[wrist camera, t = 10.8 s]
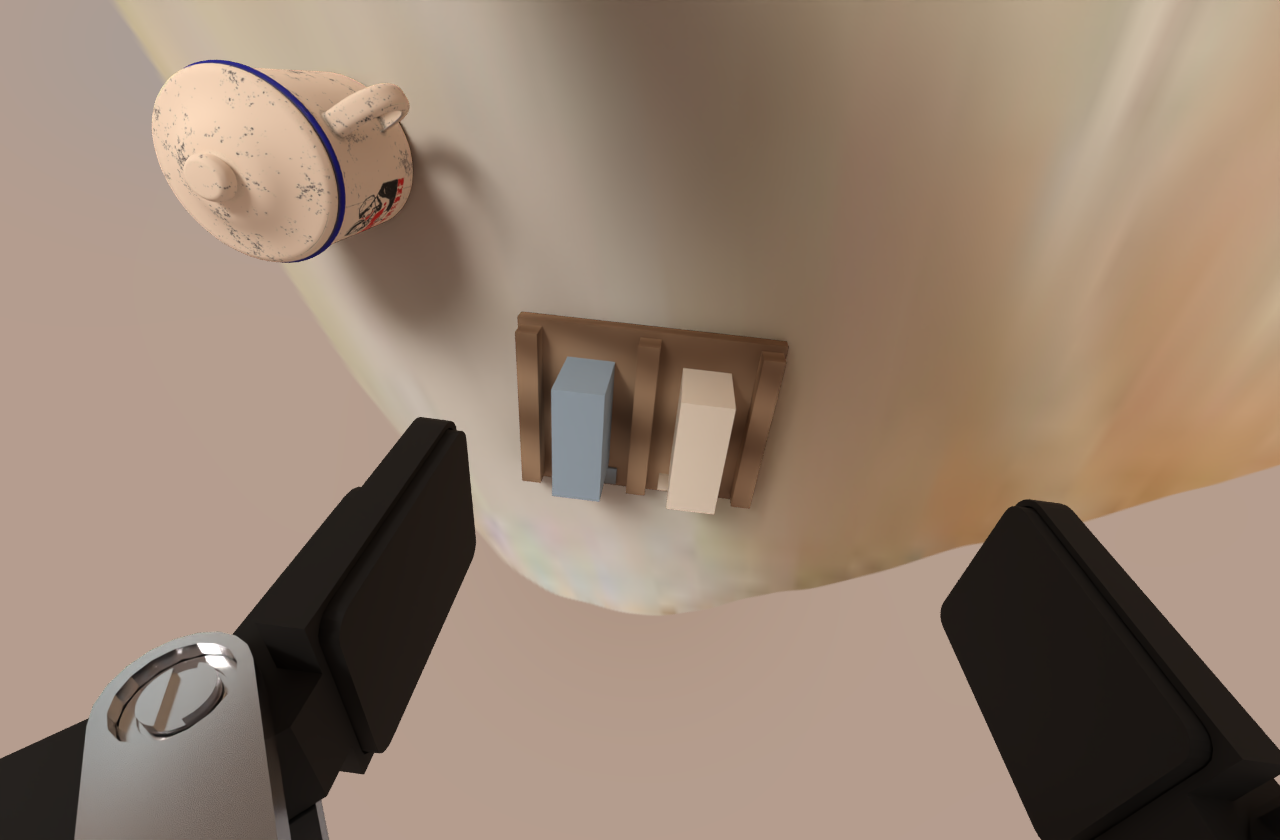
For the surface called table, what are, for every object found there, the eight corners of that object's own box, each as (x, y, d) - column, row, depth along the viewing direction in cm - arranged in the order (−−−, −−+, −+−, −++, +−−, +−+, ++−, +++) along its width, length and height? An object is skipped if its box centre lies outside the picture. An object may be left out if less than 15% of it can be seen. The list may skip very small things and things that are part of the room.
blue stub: (567, 356, 38) (551, 389, 34) (615, 361, 38) (604, 395, 34) (566, 456, 43) (552, 495, 39) (609, 461, 43) (599, 501, 39)
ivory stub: (683, 368, 38) (681, 402, 34) (731, 373, 38) (735, 409, 34) (669, 467, 43) (666, 508, 39) (712, 472, 43) (714, 514, 38)
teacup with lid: (345, 250, 37) (216, 309, 27) (245, 114, 33) (50, 125, 23) (484, 169, 33) (393, 202, 23) (390, 5, 29) (233, -39, 19)
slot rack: (521, 311, 38) (510, 324, 36) (786, 341, 37) (792, 356, 35) (528, 466, 45) (519, 484, 43) (748, 493, 45) (751, 513, 43)
